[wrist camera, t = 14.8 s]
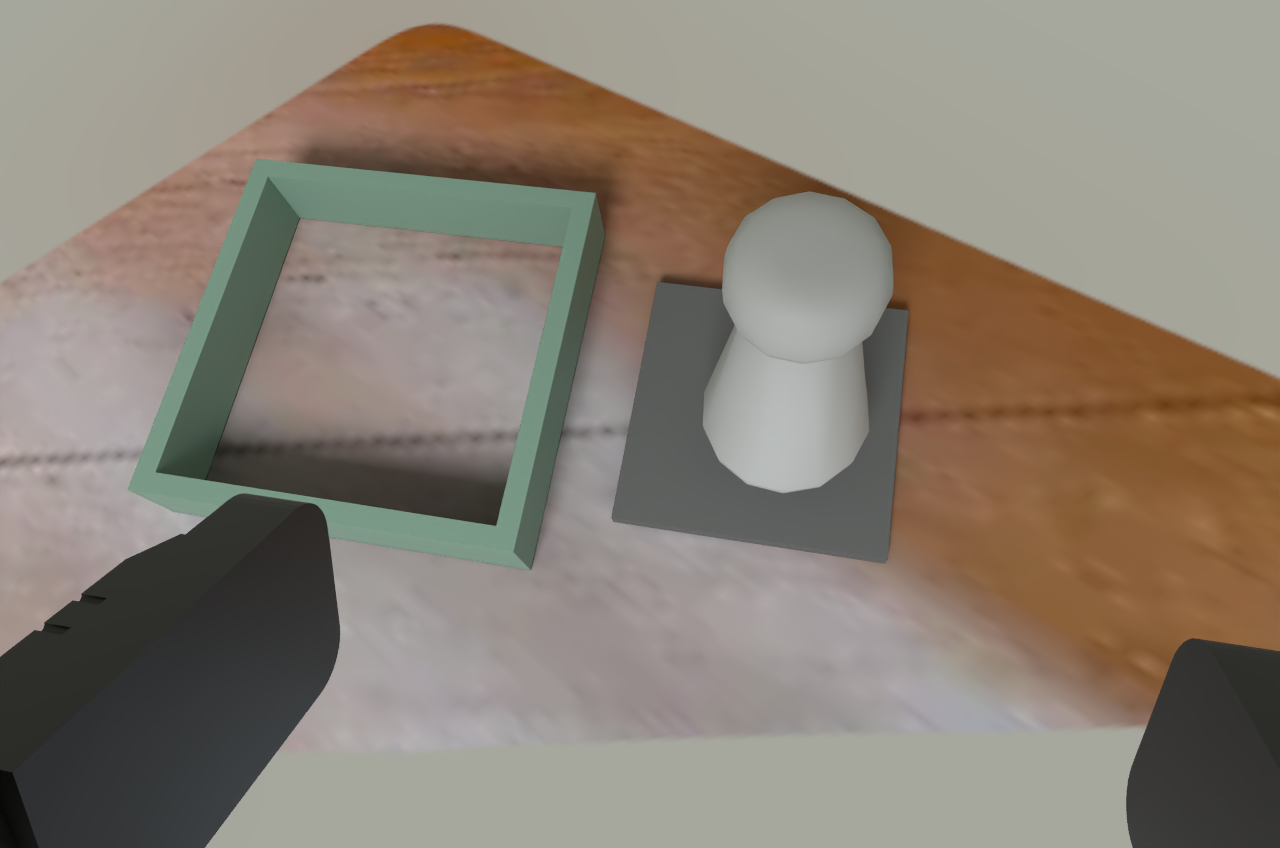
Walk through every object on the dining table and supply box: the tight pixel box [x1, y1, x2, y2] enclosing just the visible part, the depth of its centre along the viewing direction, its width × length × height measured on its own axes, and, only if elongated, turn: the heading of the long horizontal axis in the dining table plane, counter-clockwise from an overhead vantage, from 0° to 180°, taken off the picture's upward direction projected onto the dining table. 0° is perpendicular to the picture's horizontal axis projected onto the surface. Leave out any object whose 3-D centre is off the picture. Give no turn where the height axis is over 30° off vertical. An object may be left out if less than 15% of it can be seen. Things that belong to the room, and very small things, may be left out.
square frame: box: [128, 159, 605, 570], centre depth 35 cm, size 15×15×3 cm
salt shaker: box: [703, 191, 893, 493], centre depth 28 cm, size 6×6×13 cm
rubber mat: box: [612, 282, 909, 563], centre depth 34 cm, size 10×10×1 cm
